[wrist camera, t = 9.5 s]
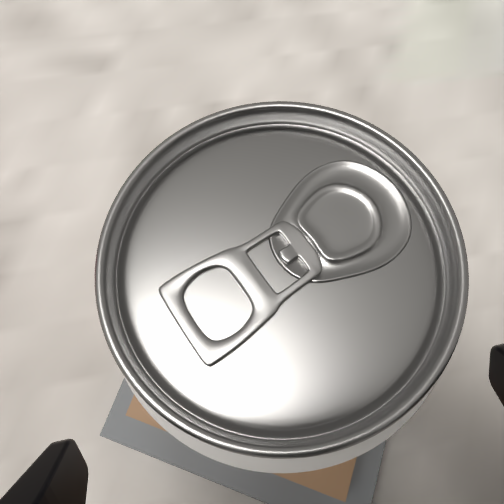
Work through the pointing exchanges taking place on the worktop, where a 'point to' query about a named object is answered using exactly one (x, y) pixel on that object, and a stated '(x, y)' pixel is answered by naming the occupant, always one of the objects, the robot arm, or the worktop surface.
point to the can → (281, 285)
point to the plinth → (244, 481)
